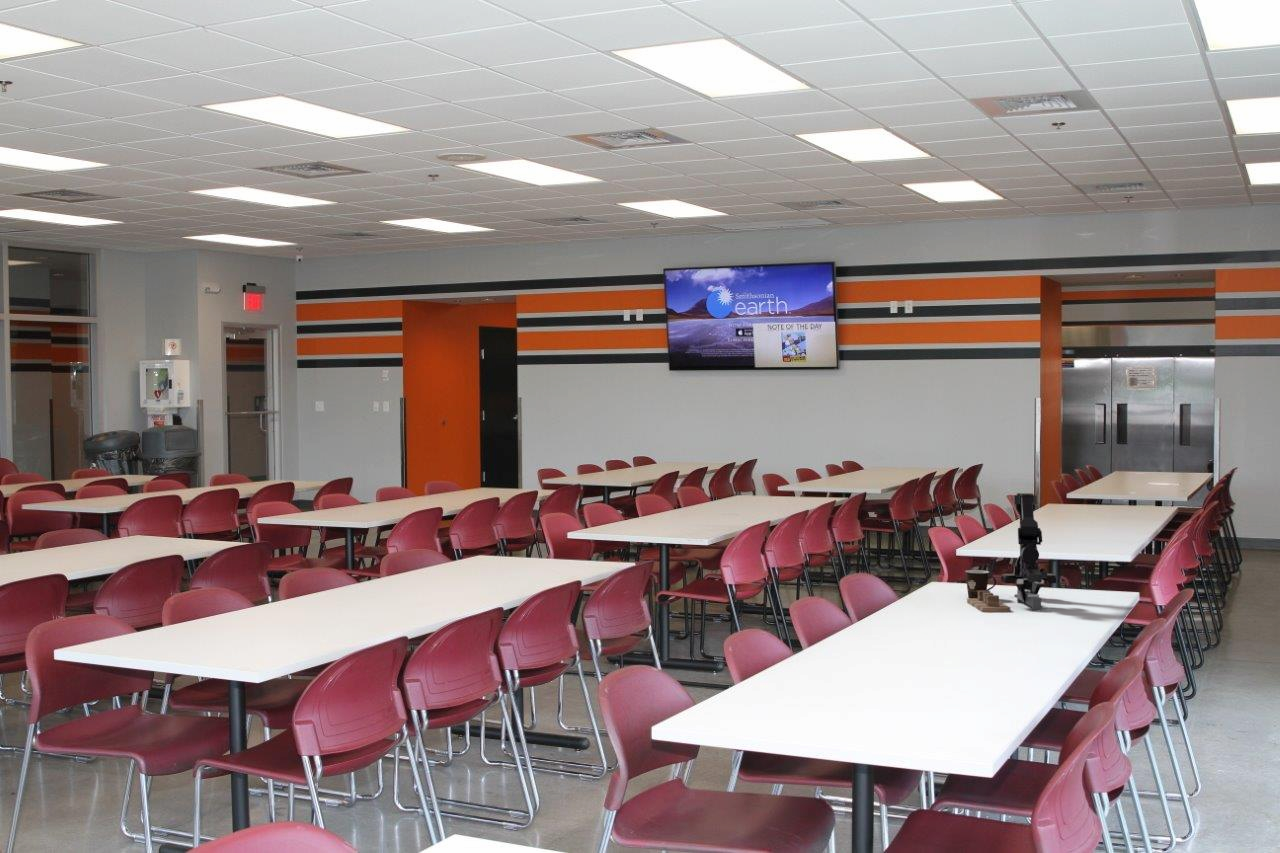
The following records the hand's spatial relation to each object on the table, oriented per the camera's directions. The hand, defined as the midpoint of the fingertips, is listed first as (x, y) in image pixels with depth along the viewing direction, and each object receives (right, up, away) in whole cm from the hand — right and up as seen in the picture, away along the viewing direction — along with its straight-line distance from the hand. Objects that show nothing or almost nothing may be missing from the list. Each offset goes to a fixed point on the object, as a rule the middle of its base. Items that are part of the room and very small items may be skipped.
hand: (1028, 602), depth 441 cm
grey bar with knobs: (0, -2, 0) cm, 2 cm away
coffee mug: (-13, -1, +18) cm, 22 cm away
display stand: (-15, -2, -1) cm, 15 cm away
